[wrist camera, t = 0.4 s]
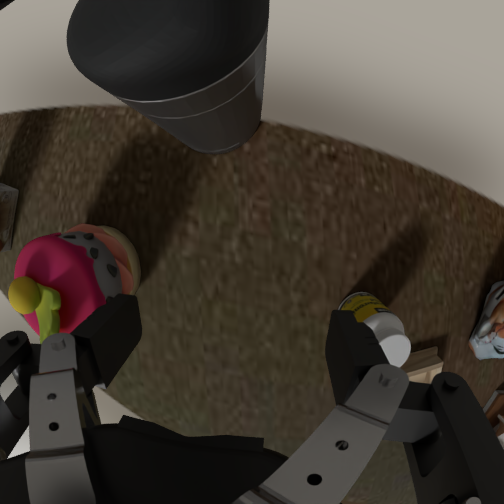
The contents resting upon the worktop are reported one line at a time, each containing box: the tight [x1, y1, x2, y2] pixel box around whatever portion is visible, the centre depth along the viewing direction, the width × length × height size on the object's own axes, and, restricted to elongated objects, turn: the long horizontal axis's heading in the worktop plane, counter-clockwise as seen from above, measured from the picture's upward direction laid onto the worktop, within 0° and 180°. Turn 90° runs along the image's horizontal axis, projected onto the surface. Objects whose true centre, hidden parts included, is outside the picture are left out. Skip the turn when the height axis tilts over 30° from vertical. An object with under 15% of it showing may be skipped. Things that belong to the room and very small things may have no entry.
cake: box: [8, 223, 141, 344], centre depth 23 cm, size 10×11×15 cm
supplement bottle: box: [338, 292, 411, 367], centre depth 26 cm, size 5×5×10 cm
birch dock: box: [399, 346, 443, 384], centre depth 31 cm, size 11×10×3 cm
